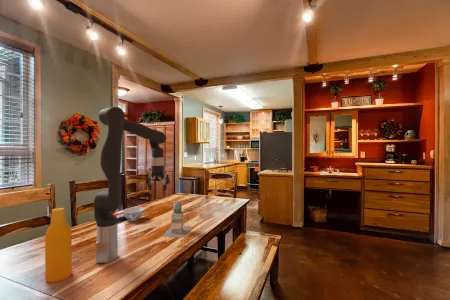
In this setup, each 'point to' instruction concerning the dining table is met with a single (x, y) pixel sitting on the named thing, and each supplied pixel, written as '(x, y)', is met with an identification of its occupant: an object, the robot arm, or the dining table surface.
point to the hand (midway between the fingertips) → (157, 190)
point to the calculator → (120, 217)
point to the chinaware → (133, 213)
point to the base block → (177, 227)
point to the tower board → (182, 234)
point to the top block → (178, 217)
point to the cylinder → (177, 207)
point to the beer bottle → (58, 248)
